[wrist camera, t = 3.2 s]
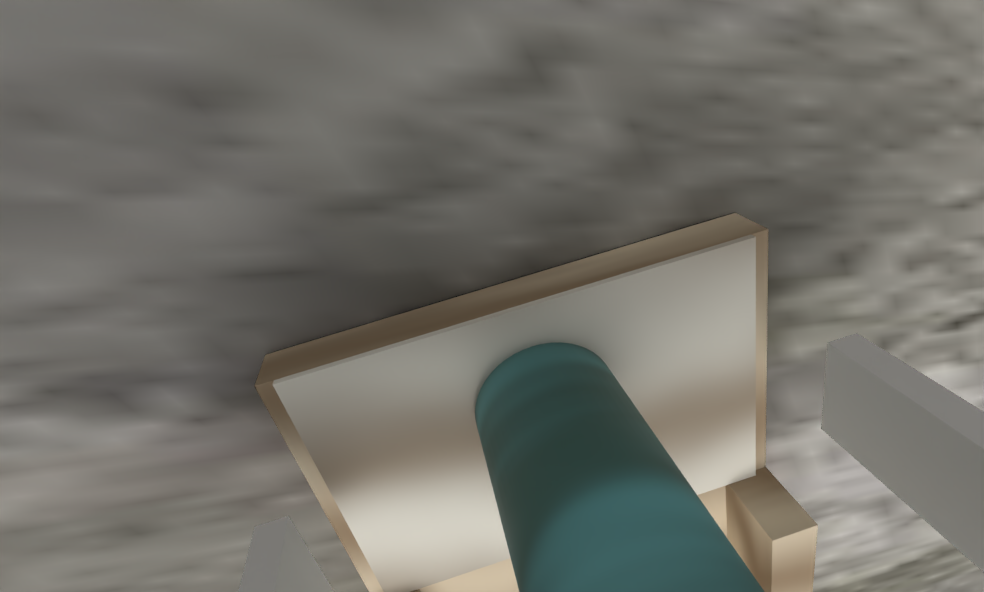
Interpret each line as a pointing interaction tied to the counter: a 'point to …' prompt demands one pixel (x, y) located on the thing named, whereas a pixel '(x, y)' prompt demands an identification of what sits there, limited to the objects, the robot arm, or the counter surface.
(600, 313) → the lane board
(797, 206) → the counter surface
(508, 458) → the brown teal long piece
